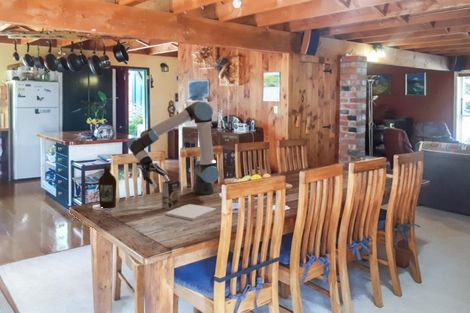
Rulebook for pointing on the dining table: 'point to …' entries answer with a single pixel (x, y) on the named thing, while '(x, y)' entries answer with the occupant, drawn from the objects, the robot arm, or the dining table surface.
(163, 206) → the coffee box
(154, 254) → the dining table surface
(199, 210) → the board
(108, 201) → the olive oil
